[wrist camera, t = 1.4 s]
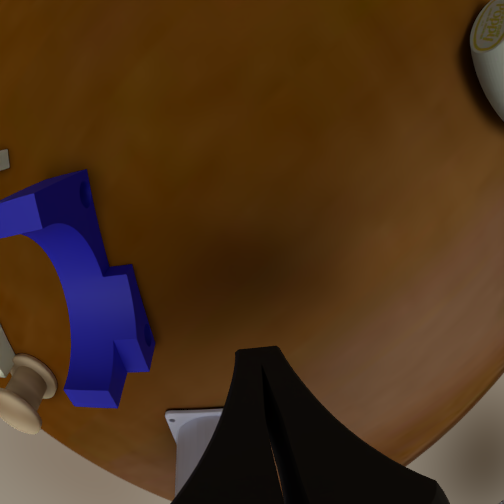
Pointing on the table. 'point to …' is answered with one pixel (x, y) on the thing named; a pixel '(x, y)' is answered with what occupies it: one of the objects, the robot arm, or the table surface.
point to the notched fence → (3, 353)
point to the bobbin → (26, 393)
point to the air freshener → (490, 53)
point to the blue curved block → (85, 287)
